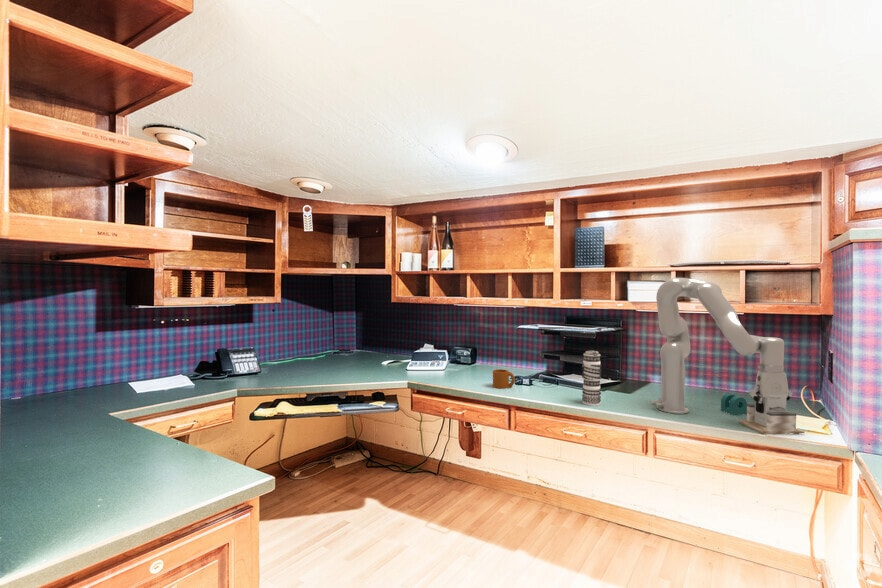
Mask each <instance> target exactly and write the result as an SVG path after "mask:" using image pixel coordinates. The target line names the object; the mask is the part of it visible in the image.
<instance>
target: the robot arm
mask: <svg viewBox="0 0 882 588" xmlns="http://www.w3.org/2000/svg"><path fill="white" fill-rule="evenodd" d="M655 296H656V297H655V298H656V308H657V316H658V317H657V318H658V323H659V330H660V333H661V335H663V336H664V337H666V342H665V343H663V344H662V346H661V348H660V352H659V356H660V365H661V368H660V369H661V373H660V374H661V375H660V376H661V377H660V379H661V381H660V398H658V399H657V400H649V404H650V405H651V406H656V409H658V411H661V412H664V413H669V414H677V415H678V414H679V415H680V414H681V415H683V414H688V413H689V411H690V410H689V408H688V407H686V406H685V405H686V403H685V401H686V399H685V398H686V364H685V359H686V358H687V357H688V356H689V355H690V353H691V341H690V340H691V339H690V334H689V333H690V332H689V328H688V327H689V326H688V324H687V321H686V320H685V318H683V317H682V316H680V311H679V304H678V298H679V297H685V298H689V299H695V300H697V301H699V302H700V304H701V305H702V306H703V308H704V309H706V311H707V312H708V314H709V315H710V316H711V317H712V318H713V320H714V321H715V324H716V325H717V327H718V329H720V332H721V333H722V335H723V336H724V338H725V339H726V340H727V341H728V342H729V344H730V345H731V347H732V348H733V349H734V350H735V351H736V352H737V353H739V354H740V355H742V356H748V357H749V356H752V355H754V354H759V365H757V366H756V368H757V370H758V371H757V375H756V379H755V387H754V388H752V389H750V390H749V391H748V394H749V395H750V396H751V397H750V398H751V399H752V400H753V401H754V403H755V402H756V411H757V412H759V413H763V403H762V402H763V400H764V399H765V398H768V395H772V396H786V404H788V401H789V400H790V399H791V397H792V396H793V394H794V392H793V391H791V390H790V389H789V383H788V378H787V377H788V376H787V374H786V372H784V370H785V367H784V364H785V341H784V339H782V338H781V337H780V338H779V337H774V336H773V337H772V336H765V337H764V336H759V335H753V334H749V333H748V331H747V330H746V329H745V328H744V326H743V325H742V323H741V322H740V319H739V316H738V313H737V311H736V309H735V308H734V306H732V305H731V303H730V302H729V300H728V299H727V298H726V297H725V296H724V294H723V292H722V288H721V287H720V285H718V284H717V283H715V282H709V281H703V280H702V281H701V280H697V279H693V278H692V279H691V278H687V277H673V278H670V279H667V280H666V281H664V282H663V283H662V284H661V285H660V286H659V287H658V289H657V291H656V295H655ZM755 393H756V395H757V396H756V395H755ZM760 397H761V398H760ZM759 398H760V399H759Z"/></svg>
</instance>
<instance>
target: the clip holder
mask: <svg viewBox="0 0 882 588" xmlns="http://www.w3.org/2000/svg"><path fill="white" fill-rule="evenodd" d="M740 423H741V425H742V426H745V427H747V428H748V429H751V430H753V431H755V432H757V433H759V434H762V435H790V434H789V433H794V434H793V435H798V434H797V433H804V434H805V430H802V429H799V428H797V413H796V412H793V411H792V412H791V411H790V412H789V411H786V412H767V427H765V426H763V425H761V424H758V423H756V422H755V403H747V415H746V419H745V420H744V419H743V420H742V419H738V424H740ZM796 428H797V429H796ZM785 433H787V434H785Z"/></svg>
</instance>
